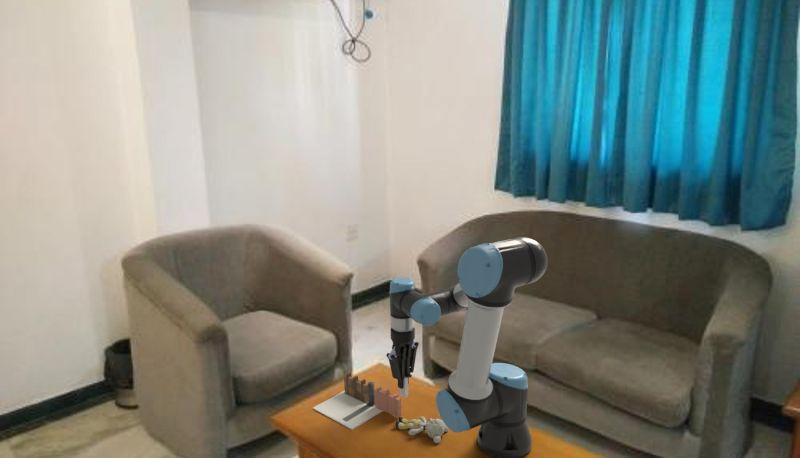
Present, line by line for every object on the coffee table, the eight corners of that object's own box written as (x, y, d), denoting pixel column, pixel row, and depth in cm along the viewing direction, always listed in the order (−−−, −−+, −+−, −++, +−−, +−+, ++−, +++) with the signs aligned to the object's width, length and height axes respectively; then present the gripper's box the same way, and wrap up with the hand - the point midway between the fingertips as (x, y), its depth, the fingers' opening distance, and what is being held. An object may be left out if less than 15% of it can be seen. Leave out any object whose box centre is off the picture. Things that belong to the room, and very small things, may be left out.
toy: (403, 406, 180) (448, 412, 174) (405, 422, 182) (450, 429, 175) (390, 421, 173) (437, 428, 166) (392, 438, 174) (439, 446, 167)
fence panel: (374, 406, 186) (374, 386, 185) (377, 404, 187) (377, 384, 186) (398, 417, 180) (397, 397, 178) (401, 415, 181) (400, 395, 179)
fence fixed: (376, 405, 188) (375, 383, 186) (371, 407, 187) (371, 385, 185) (348, 391, 197) (347, 370, 195) (343, 394, 195) (342, 372, 193)
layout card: (392, 404, 188) (392, 403, 188) (352, 429, 175) (352, 428, 175) (353, 386, 200) (353, 385, 200) (312, 408, 187) (312, 407, 187)
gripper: (407, 317, 189) (408, 383, 195) (379, 330, 179) (380, 399, 186) (425, 323, 184) (425, 391, 190) (397, 337, 175) (398, 408, 181)
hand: (403, 395), depth 188 cm, fingers closed
